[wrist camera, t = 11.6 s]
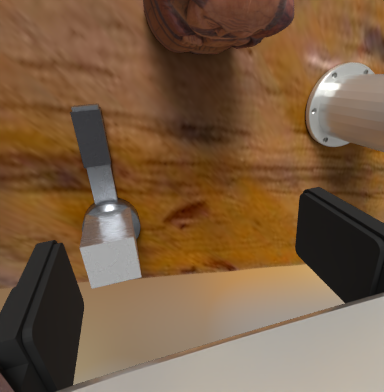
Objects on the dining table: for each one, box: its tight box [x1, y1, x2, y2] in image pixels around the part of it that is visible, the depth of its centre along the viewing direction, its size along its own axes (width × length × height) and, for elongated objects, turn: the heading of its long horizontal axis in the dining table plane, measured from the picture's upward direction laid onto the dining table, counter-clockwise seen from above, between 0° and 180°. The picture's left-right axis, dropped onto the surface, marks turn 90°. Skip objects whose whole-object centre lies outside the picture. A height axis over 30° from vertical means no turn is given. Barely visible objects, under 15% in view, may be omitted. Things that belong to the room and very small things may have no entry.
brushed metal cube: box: [80, 207, 141, 288], centre depth 36 cm, size 6×6×8 cm
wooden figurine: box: [143, 0, 294, 54], centre depth 26 cm, size 12×6×18 cm, turn 85°
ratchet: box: [70, 104, 140, 239], centre depth 36 cm, size 8×21×6 cm, turn 5°
